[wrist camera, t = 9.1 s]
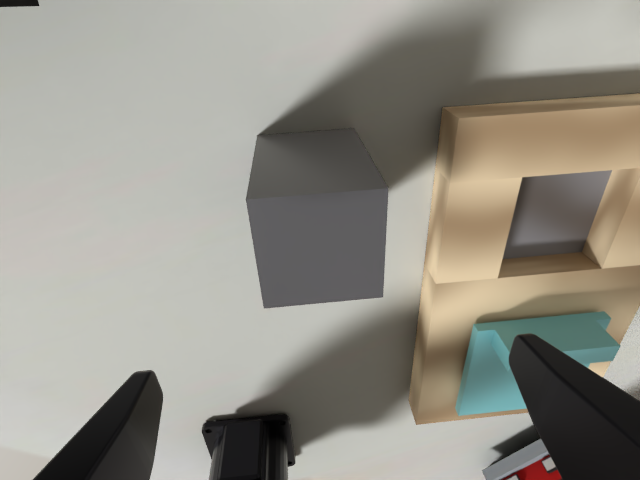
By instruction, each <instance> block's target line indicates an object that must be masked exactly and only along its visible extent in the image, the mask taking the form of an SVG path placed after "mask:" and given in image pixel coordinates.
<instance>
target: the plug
mask: <svg viewBox="0 0 640 480" xmlns="http://www.w3.org/2000/svg"><path fill="white" fill-rule="evenodd" d="M246 202H247V208H248V215H249V221H250V227H251V233H252V239H253V245H254V251H255V257H256V263H257V269H258V275H259V281H260V287H261V293H262V299H263V306H264V308H273V307H284V306H295V305H305V304H316V303H327V302H337V301H348V300H359V299H369V298H380V297H383V286H384V266H385V245H386V225H387V204H388V187H387V185H386V183H385V182H384V180H383V178H382V176H381V175H380V173H379V171H378V169H377V168H376V166H375V164H374V162H373V161H372V159H371V157H370V155H369V154H368V152H367V150H366V148H365V147H364V145H363V143H362V141H361V140H360V138H359V136H358V134H357V133H356V131H355V129H354V128H351V129H337V130H323V131H309V132H296V133H282V134H268V135H257V141H256V146H255V152H254V157H253V163H252V169H251V174H250V180H249V186H248V191H247V197H246Z"/></svg>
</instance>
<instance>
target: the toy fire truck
mask: <svg viewBox="0 0 640 480" xmlns="http://www.w3.org/2000/svg"><path fill="white" fill-rule="evenodd" d="M482 471H483V474H484V476H485V479H486V480H563V479H562V477H561V476H560V474H559V472H558V470H557V468H556V466H555V464H554V462H553V460H552V459H551V457H550V455H549V453H548V451H547V449H546V447H545V445H544V443H543V442H542V440H541V439H539V440H537V441H535V442H533V443H532V444H530V445H528V446H526V447H524V448H522V449H521V450H519V451H517V452H515V453H513V454H511V455H510V456H508V457H506V458H504V459H502V460H500V461H499V462H497V463H495V464H493V465H491V466H489V467H487V468H486V469H484V470H482Z"/></svg>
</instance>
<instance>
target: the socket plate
mask: <svg viewBox="0 0 640 480" xmlns="http://www.w3.org/2000/svg"><path fill="white" fill-rule="evenodd" d="M639 306H640V93H638V94H624V95H610V96H596V97H581V98H567V99H553V100H539V101H525V102H511V103H497V104H482V105H468V106H454V107H442V115H441V124H440V133H439V141H438V150H437V159H436V167H435V176H434V185H433V193H432V202H431V211H430V219H429V228H428V237H427V245H426V254H425V263H424V271H423V280H422V289H421V297H420V306H419V315H418V323H417V332H416V341H415V349H414V358H413V367H412V375H411V384H410V393H409V404H410V407H411V410H412V413H413V416H414V419H415V422H416V425H418V424H427V423H436V422H445V421H455V420H464V419H473V418H482V417H491V416H501V415H510V414H519V413H528V410H527V409H518V410H508V411H499V412H490V413H481V414H471V415H462V416H458V414H457V411H456V409H455V406H456V402H457V397H458V392H459V388H460V383H461V379H462V374H463V370H464V365H465V361H466V356H467V352H468V347H469V342H470V338H471V333H472V329H473V324H478V323H489V322H499V321H509V320H520V319H530V318H540V317H550V316H561V315H571V314H581V313H592V312H602V311H605V312H606V313H607V314H608V315H609V316H610V317H611V320H610V323H609V325H608V327H607V329H606V331H607V333H608V334H609V335H610V336H611V337H612V338H613V339H614V340H615V341H616V342H617V343H618V344H619V345H620V343H621V341H622V339H623V337H624V335H625V333H626V331H627V329H628V327H629V325H630V323H631V321H632V320H633V318H634V316H635V314H636V312H637V310H638V308H639ZM610 363H611V361H607V362H597V363H590V365H589V367H588V368H589V369H590V370H592V371H593V372H595V373H596V374H598V375H600V376H601V377H603V376H604V374H605V372H606V370H607V368H608V367H609V365H610Z"/></svg>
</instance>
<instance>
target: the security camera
mask: <svg viewBox="0 0 640 480" xmlns="http://www.w3.org/2000/svg"><path fill="white" fill-rule="evenodd" d="M14 6H39V3H38V0H0V7H14Z"/></svg>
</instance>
